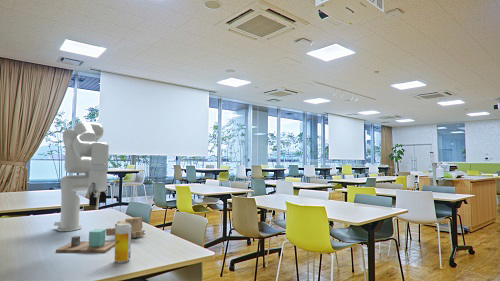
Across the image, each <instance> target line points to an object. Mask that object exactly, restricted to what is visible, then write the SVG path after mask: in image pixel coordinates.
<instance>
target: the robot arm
mask: <svg viewBox="0 0 500 281" xmlns="http://www.w3.org/2000/svg"><path fill="white" fill-rule="evenodd" d="M103 136H104V127H103V125H102V124H101V123H98V122H89V121H81V122H78V123H75V125H74V127H73V128H67V129H65V130H64V131H63V133H62V141H63V145H64V148H65V152H64V153H65V154H64V172H66V173H68V174H69V175H65V176H63V177H61V179H60V181H59V183H60V191H61V194H60V195H61V201H60V202H61V203H60V221H55V222H54V224H53V226H55V227H56V226H57V228H56V230H57V231H59V232H71V231H72V232H73V231H78V230H80V229H82V225H80V210H81V209H80V205H81V204H80V203H81V200H80V198H81V197H80V196H79V195H78V194H77V192H84V191H85V192H86V191H87V192H88V198H89V199H88V200H89V202H88V206H89V207H97V205H98V203H99V204H106V203H107V194H108V186H109V185H108V170H109V147H110V146H109V143H107V142H100V141H99V140H100V139H101V138H102V137H103ZM71 174H72V175H71ZM98 194H99V195H98ZM97 195H98V197H97ZM97 199H98V201H97Z"/></svg>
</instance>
